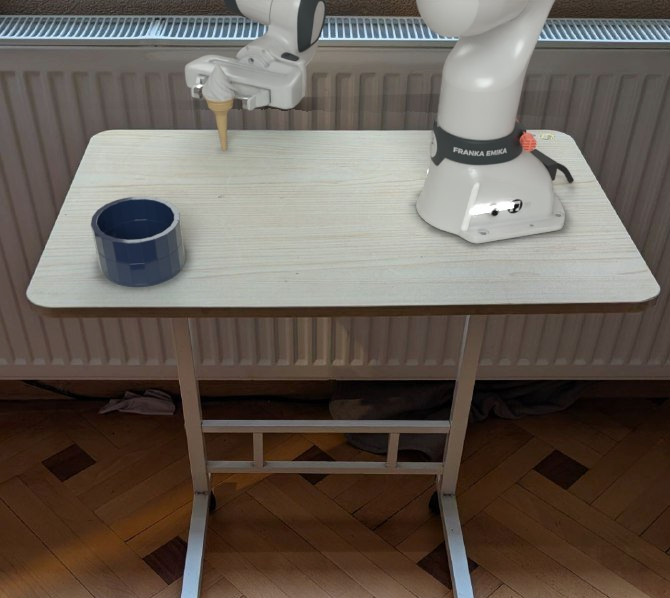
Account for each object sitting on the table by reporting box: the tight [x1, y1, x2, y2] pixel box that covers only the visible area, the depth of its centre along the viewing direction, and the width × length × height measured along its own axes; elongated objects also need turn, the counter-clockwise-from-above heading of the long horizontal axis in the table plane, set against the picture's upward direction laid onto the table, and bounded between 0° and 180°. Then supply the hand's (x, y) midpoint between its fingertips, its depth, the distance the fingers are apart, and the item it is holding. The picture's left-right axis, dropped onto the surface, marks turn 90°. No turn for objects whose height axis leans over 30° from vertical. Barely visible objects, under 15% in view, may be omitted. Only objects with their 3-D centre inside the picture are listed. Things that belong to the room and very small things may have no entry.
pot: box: [90, 195, 186, 288], centre depth 113 cm, size 12×12×7 cm
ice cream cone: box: [202, 62, 237, 152], centre depth 135 cm, size 6×6×15 cm
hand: (220, 99), depth 134 cm, fingers open, 8 cm apart
